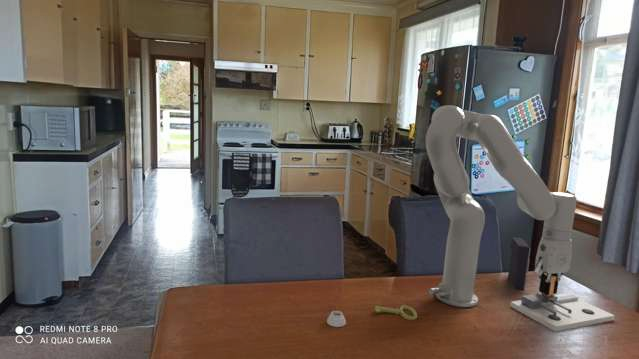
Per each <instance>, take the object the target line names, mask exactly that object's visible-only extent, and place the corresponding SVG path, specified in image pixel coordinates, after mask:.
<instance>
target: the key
mask: <svg viewBox="0 0 639 359" xmlns="http://www.w3.org/2000/svg"><path fill="white" fill-rule="evenodd" d="M404 310H408V311H409V312H411V313H412V314H413V316H412V315H408V314H406V313H405V311H404ZM374 311H375V313H381V312H383V313H391V314H395V315H400V317H402V318H404V319H406V320H410V321H414V320H415V321H416V320H417V318H418V313H417V311H416V310H415V309H414V308H412V307H411V306H408V305H401V306H400V308H398V307H396V308H392V307H384V306H377V305H375V306H374Z"/></svg>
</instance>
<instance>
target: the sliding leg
mask: <svg viewBox="0 0 639 359" xmlns="http://www.w3.org/2000/svg"><path fill="white" fill-rule="evenodd" d="M544 274H545V275H546V273H544ZM549 282H551V285H550V292H549V295H546V294H544V293H541V292H540V291H539V292H537V293H536V295H535V296H536V297H538V298H540V299H542V300H543V301H544V302H546V303H553V304H555V305H557V306H559V307H561V308H564V309H566V310H568V313H570V314H571V312H572V311H571V309H569V308H567V307H565V306H563V305H561V304H559V303H557V298H558V297H557V296H555V295H556V294H554V289H555V282H556V276H554V275H552V274H551V276H550V281H549Z"/></svg>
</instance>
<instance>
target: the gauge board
mask: <svg viewBox="0 0 639 359" xmlns="http://www.w3.org/2000/svg"><path fill="white" fill-rule="evenodd" d="M554 295H555V296H557V297H558V298H557V303H559V304H561V305H563V306H565V307H567V308H569V309H571V311H572V312H571V314H570V313H568V310H566V309H564V308H561V307H559V306H557V305H555V304H553V303H546V302H544V301H543V300H542V299H540V298H538V297H536V296H537V295H535V294H526V295H521V300H514V301H510V305H509V306H510V307H511V308H512V309H514V310H515V311H517V312H520V313H522V314H523V315H525V316H527V317H529V318H531V319H532V320H534V321H536V322H537V323H538V324H541V325H543V326H545V327H547V328H548V329H550V330H552V331H554V332H560V331H565V330H571V329H576V328H580V327H585V326H586V327H587V326H592V325H596V324H602V323H606V322H607V323H608V322H611V321H615V315H614V314H612V313H610V312H609V311H606V310H603V309H602V308H599V307H597V306H594V305H593V304H590V303H588V302H586V301H584V300H582V299H579V296H577V295H574V294H569V293H561V294H554Z"/></svg>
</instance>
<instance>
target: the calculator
mask: <svg viewBox="0 0 639 359" xmlns="http://www.w3.org/2000/svg"><path fill="white" fill-rule="evenodd" d="M510 249H511V254H510V260H509V270H508V273H507V274H508V275H507V276H508V280H509V281H510V283H511V285H512V286H513V288H514V289H516V290H524V289H526V287H527V286H526V285H527V280H528V272H529V265H530V255H531V247H530V246H529V244H528V243H527V242H526V241H525V239H523V238H522V237H521V238H520V237H511V241H510Z"/></svg>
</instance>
